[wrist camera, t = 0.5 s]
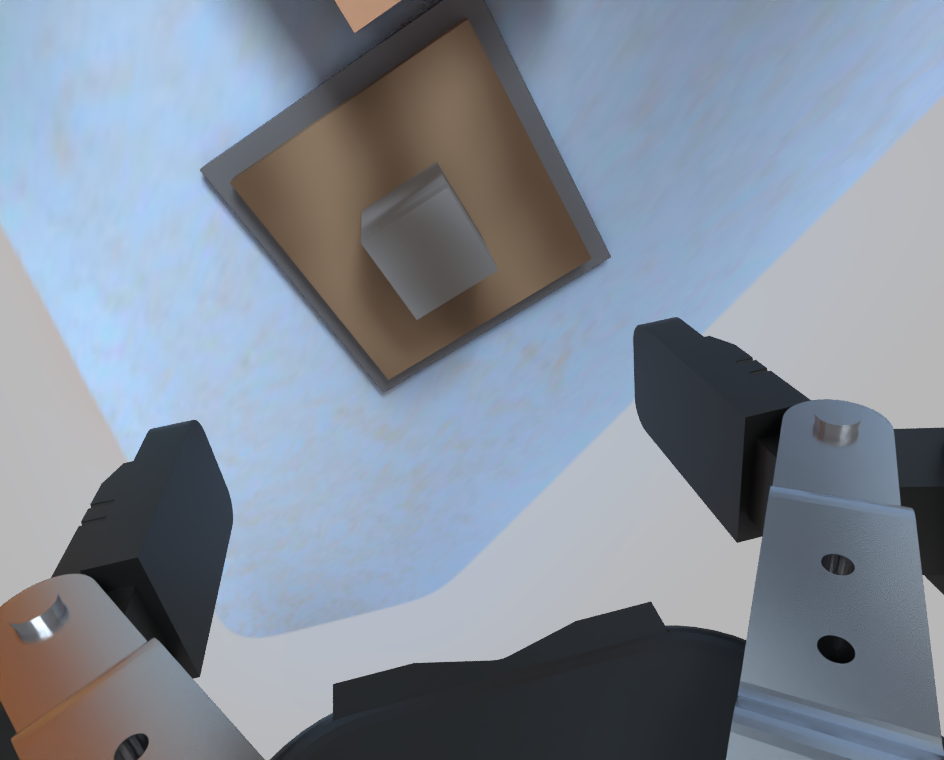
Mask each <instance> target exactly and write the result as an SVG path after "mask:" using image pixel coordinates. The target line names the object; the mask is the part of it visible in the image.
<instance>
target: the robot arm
mask: <svg viewBox="0 0 944 760" xmlns="http://www.w3.org/2000/svg"><path fill="white" fill-rule="evenodd" d="M633 346H634V381H635V403H636V409H637V413H638V416H639V419H640V421H641V424H642V426H643V427H644V429H645V430H646V432H647V433H648V434H649V436H650V437H651V438H652V439H653V441H654V442H655V443H656V444H657V445H658V446H659V448H660V449H661V450H662V452H663V453H664V454H665V455H666V456H667V458H668V459H669V460H670V461H671V462H672V464H673V465H674V466H675V467H676V469H677V470H678V471H679V472H680V473H681V475H682V476H683V477H684V478H685V480H686V481H687V482H688V483H689V485H690V486H691V487H692V488H693V489H694V491H695V492H696V493H697V494H698V496H699V497H700V498H701V499H702V500H703V502H704V503H705V504H706V505H707V507H708V508H709V509H710V510H711V511H712V513H713V514H714V515H715V516H716V518H717V519H718V520H719V521H720V522H721V524H722V525H723V526H724V527H725V529H726V530H727V531H728V532H729V533H730V534H731V536H732V537H733V538H734V539H735V541H736V542H737V543H738V542H741V541H746V540H750V539H754V538H757V537H761V536H762V543H761V549H760V556H759V562H758V570H757V575H756V582H755V588H754V595H753V602H752V607H751V614H750V621H749V627H748V634H747V640H744V639H741V638H739V637H736V636H733V635H729V634H725V633H722V632H718V631H714V630H709V629H703V628H697V627H687V626H665V625H664V623H663V622H662V620H661V618H660V616H659V615H658V613H657V611H656V609H655V608H654V606H653V605H652V602H648V603H644V604H640V605H637V606H632V607H629V608H625V609H621V610H617V611H613V612H610V613H606V614H602V615H598V616H594V617H590V618H587V619H582V620H579V621H575V622H573V623H572V624H570V625H568V626H566V627H564V628H562V629H560V630H558V631H556V632H554V633H552V634H550V635H549V636H547V637H545V638H543V639H541V640H539V641H537V642H535V643H533V644H531V645H530V646H527V647H526V648H524V649H522V650H520V651H518V652H516V653H514V654H512V655H510V656H508V657H506V658H504V659H500V660H493V661H465V662H435V663H413V664H409V665H406V666H402V667H398V668H394V669H390V670H386V671H383V672H378V673H375V674H371V675H367V676H363V677H359V678H355V679H351V680H348V681H344V682H340V683H336V684H333V713H332V714H330V715H328V716H326V717H324V718H323V719H321V720H319V721H318V722H316V723H315V724H313V725H312V726H310V727H308V728H307V729H305V730H304V731H302V732H301V733H300V734H299V735H297V736H296V737H295V738H294V739H292V740H291V741H290V742H289V743H288V744H286V745H285V746H284V747H283V748H282V749H281V750H280V751H279V752H278V753H276V754H275V755H274V756H273V757H272V758H271V759H270V760H944V737H943V736H941V730H940V721H939V713H938V704H937V696H936V687H935V679H934V671H933V662H932V654H931V645H930V637H929V628H928V620H927V612H926V604H925V594H924V586H923V577H922V575H925V576H926V578H927V579H928V580H929V581H931V583H932V584H934V586H935V587H937V589H939V590H940V591H941V592H942V593H943V594H944V428H917V429H893V427H892V425H891V423H890V422H889V421H888V420H887V419H886V418H885V417H884V416H883V415H881V414H880V413H878V412H876V411H874V410H873V409H870V408H868V407H865V406H863V405H859V404H856V403H852V402H847V401H840V400H829V399H825V400H810V399H808V398H807V397H806V396H804V395H803V394H802V393H800V392H799V391H797V390H796V389H795V388H793V387H792V386H791V385H789V384H788V383H787V382H785V381H784V380H782V379H781V378H780V377H778V376H777V375H775V374H774V373H773V372H772V371H767V368H766V367H765V366H763V365H762V364H761V363H759V362H758V361H757V360H754V361H753V359H752V357H751V356H750V355H748V354H747V353H746V352H744V351H743V350H741V349H740V348H739V347H737V346H736V345H734V344H731V343H728V342H726V341H722V340H720V339H717V338H714V337H711V336H707V337H703V336H702V335H701V334H699V333H698V332H697V331H695V330H694V329H693V328H692V327H690V326H689V325H688V324H686V323H685V322H684V321H682V320H681V319H680V318H677V317H674V318H670V319H665V320H660V321H656V322H651V323H646V324H642V325H638V326H637V327H636V328H635V331H634V337H633ZM81 523H82V526H79V527H78V529H77V531H76V532H75V534H74V536H73V538H72V540H71V542H70V544H69V546H68V548H67V549H66V551H65V553H64V555H63V557H62V559H61V560H60V562H59V564H58V566H57V568H56V570H55V572H54V574H53V575H52V577H51V578H50V579H47V580H44V581H42V582H39V583H37V584H35V585H33V586H31V587H29V588H27V589H25V590H23V591H22V592H20V593H19V594H17V595H15V596H14V597H12V598H11V599H10V600H8V601H7V602H6V603H4V604H3V605H2V606H1V607H0V760H264V758H263V757H262V756H261V755H260V754H259V753H258V752H257V750H256V749H255V748H254V747H253V746H252V745H251V744H250V743H249V742H248V740H247V739H246V738H245V737H244V736H243V735H242V734H241V732H240V731H239V730H238V729H237V728H236V727H235V726H234V725H233V723H232V722H231V721H230V720H229V719H228V718H227V717H226V716H225V714H224V713H223V712H222V711H221V710H220V709H219V708H218V707H217V706H216V704H215V703H214V702H213V701H212V700H211V699H210V698H209V697H208V695H207V694H206V693H205V692H204V691H203V690H202V689H201V688H200V686H199V685H198V684H197V683H196V682H195V681H194V680H193V678H197V677H200V674H201V669H202V664H203V660H204V655H205V650H206V645H207V641H208V637H209V632H210V627H211V622H212V618H213V613H214V609H215V604H216V599H217V595H218V590H219V586H220V581H221V576H222V572H223V567H224V562H225V558H226V553H227V548H228V544H229V539H230V534H231V530H232V525H233V510H232V503H231V498H230V495H229V491H228V489H227V486H226V484H225V481H224V479H223V476H222V474H221V471H220V469H219V466H218V464H217V461H216V459H215V456H214V454H213V451H212V449H211V446H210V444H209V441H208V439H207V437H206V434H205V432H204V430H203V428H202V426H201V425H200V423H199V422H198V421H196V420H191V421H186V422H181V423H177V424H172V425H167V426H163V427H158V428H153V429H150V430H149V431H148V433H147V435H146V437H145V439H144V441H143V443H142V445H141V447H140V449H139V451H138V453H137V455H136V457H135V459H134V461H132V462H127V463H124V464H122V466H120V467H119V468H118V469H117V470H116V471H115V472H114V473H113V474H112V475H111V476H110V477H109V478H108V479H106V480H105V481H104V482H103V483H102V484H101V486H100V488H99V490H98V492H97V493H96V495H95V497H94V499H93V501H92V503H91V508H90V509H88V510H87V512H86V514H85V516H84V518H83V519H82V521H81Z"/></svg>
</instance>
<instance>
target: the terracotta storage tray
mask: <svg viewBox="0 0 944 760" xmlns="http://www.w3.org/2000/svg"><path fill="white" fill-rule="evenodd" d="M400 1H401V0H335V2H336V3H337V5H338V7H339V8H340V10H341V12H342V13H343V15H344V16H345V18H346V20H347V21H348V23H349V25H350V26H351V28H352V30H353V31H354V33H356V32H357V31H358V30H360V29H361V28H363V27H364V26H366V25H367V24H368V23H370V22H371V21H373V20H374V19H375V18H377V17H378V16H380V15H381V14H383V13H384V12H385V11H387V10H388V9H390V8H391V7H392V6H394V5H395V4H397V3H398V2H400Z"/></svg>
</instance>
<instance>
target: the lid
mask: <svg viewBox="0 0 944 760" xmlns="http://www.w3.org/2000/svg"><path fill="white" fill-rule="evenodd" d="M230 184H231V185H232V186H233V188H234V189H235V190H236V191H237V192H238V194H239V195H240V196H241V197H242V199H243V200H244V201H245V202H246V204H247V205H248V206H249V207H250V209H251V210H252V211H253V212H254V214H255V215H256V216H257V217H258V219H259V220H260V221H261V222H262V224H263V225H264V226H265V227H266V228H267V230H268V231H269V232H270V233H271V235H272V236H273V237H274V238H275V240H276V241H277V242H278V243H279V245H280V246H281V247H282V248H283V250H284V251H285V252H286V253H287V255H288V256H289V257H290V258H291V259H292V261H293V262H294V263H295V264H296V266H297V267H298V268H299V269H300V271H301V272H302V273H303V274H304V276H305V277H306V278H307V279H308V281H309V282H310V283H311V284H312V286H313V287H314V288H315V289H316V291H317V292H318V293H319V294H320V295H321V297H322V298H323V299H324V300H325V302H326V303H327V304H328V305H329V307H330V308H331V309H332V310H333V312H334V313H335V314H336V315H337V317H338V318H339V319H340V320H341V322H342V323H343V324H344V325H345V326H346V328H347V329H348V330H349V331H350V333H351V334H352V335H353V336H354V338H355V339H356V340H357V341H358V343H359V344H360V345H361V346H362V348H363V349H364V350H365V351H366V353H367V354H368V355H369V356H370V358H371V359H372V360H373V361H374V362H375V364H376V365H377V366H378V367H379V369H380V370H381V371H382V372H383V374H384V375H385V376H386V377H387V379H388V380H389V379H391V378H393V377H394V376H396V375H398V374H399V373H401V372H403V371H404V370H406V369H408V368H409V367H411V366H413V365H414V364H416V363H418V362H419V361H421V360H423V359H424V358H426V357H428V356H429V355H431V354H433V353H434V352H436V351H438V350H440V349H441V348H443V347H445V346H446V345H448V344H450V343H451V342H453V341H455V340H456V339H458V338H460V337H461V336H463V335H465V334H466V333H468V332H470V331H471V330H473V329H475V328H476V327H478V326H480V325H481V324H483V323H485V322H486V321H488V320H490V319H491V318H493V317H495V316H496V315H498V314H500V313H501V312H503V311H505V310H506V309H508V308H510V307H511V306H513V305H515V304H517V303H518V302H520V301H522V300H523V299H525V298H527V297H528V296H530V295H532V294H533V293H535V292H537V291H538V290H540V289H542V288H543V287H545V286H547V285H548V284H550V283H552V282H553V281H555V280H557V279H558V278H560V277H562V276H563V275H565V274H567V273H568V272H570V271H572V270H573V269H575V268H577V267H578V266H580V265H582V264H583V263H585V262H587V261H588V260H590V259H592V258H591V256H590V254H589V252H588V251H587V249H586V247H585V245H584V243H583V241H582V239H581V237H580V235H579V233H578V231H577V229H576V227H575V225H574V223H573V221H572V219H571V218H570V216H569V214H568V212H567V210H566V208H565V206H564V204H563V202H562V200H561V198H560V196H559V194H558V192H557V190H556V188H555V186H554V185H553V183H552V181H551V179H550V177H549V175H548V173H547V171H546V169H545V167H544V165H543V163H542V161H541V159H540V157H539V155H538V153H537V152H536V150H535V148H534V146H533V144H532V142H531V140H530V138H529V136H528V134H527V132H526V130H525V128H524V126H523V124H522V122H521V121H520V119H519V117H518V115H517V113H516V111H515V109H514V107H513V105H512V103H511V101H510V99H509V97H508V95H507V93H506V91H505V89H504V88H503V86H502V84H501V82H500V80H499V78H498V76H497V74H496V72H495V70H494V68H493V66H492V64H491V62H490V60H489V58H488V56H487V55H486V53H485V51H484V49H483V47H482V45H481V43H480V41H479V39H478V37H477V35H476V33H475V31H474V29H473V27H472V25H471V23H470V22H469V20H468V19H466V18H465V19H463V20H462V21H460V22H459V23H457V24H456V25H454V26H453V27H452V28H450V29H449V30H447V31H446V32H444V33H443V34H441V35H440V36H438V37H437V38H436V39H434V40H433V41H431V42H430V43H428V44H427V45H425V46H424V47H422V48H421V49H420V50H418V51H417V52H415V53H414V54H412V55H411V56H409V57H408V58H406V59H405V60H404V61H402V62H401V63H399V64H398V65H396V66H395V67H393V68H392V69H390V70H389V71H388V72H386V73H385V74H383V75H382V76H380V77H379V78H377V79H376V80H374V81H373V82H372V83H370V84H369V85H367V86H366V87H364V88H363V89H361V90H360V91H358V92H357V93H356V94H354V95H353V96H351V97H350V98H348V99H347V100H345V101H344V102H342V103H341V104H340V105H338V106H337V107H335V108H334V109H332V110H331V111H329V112H328V113H326V114H325V115H324V116H322V117H321V118H319V119H318V120H316V121H315V122H313V123H312V124H310V125H309V126H308V127H306V128H305V129H303V130H302V131H300V132H299V133H297V134H296V135H294V136H293V137H292V138H290V139H289V140H287V141H286V142H284V143H283V144H281V145H280V146H278V147H277V148H276V149H274V150H273V151H271V152H270V153H268V154H267V155H265V156H264V157H262V158H261V159H259V160H258V161H257V162H255V163H254V164H252V165H251V166H249V167H248V168H246V169H245V170H243V171H242V172H241V173H239V174H238V175H236V176H235V177H234V178H233V179H232V180H231V182H230Z"/></svg>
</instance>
